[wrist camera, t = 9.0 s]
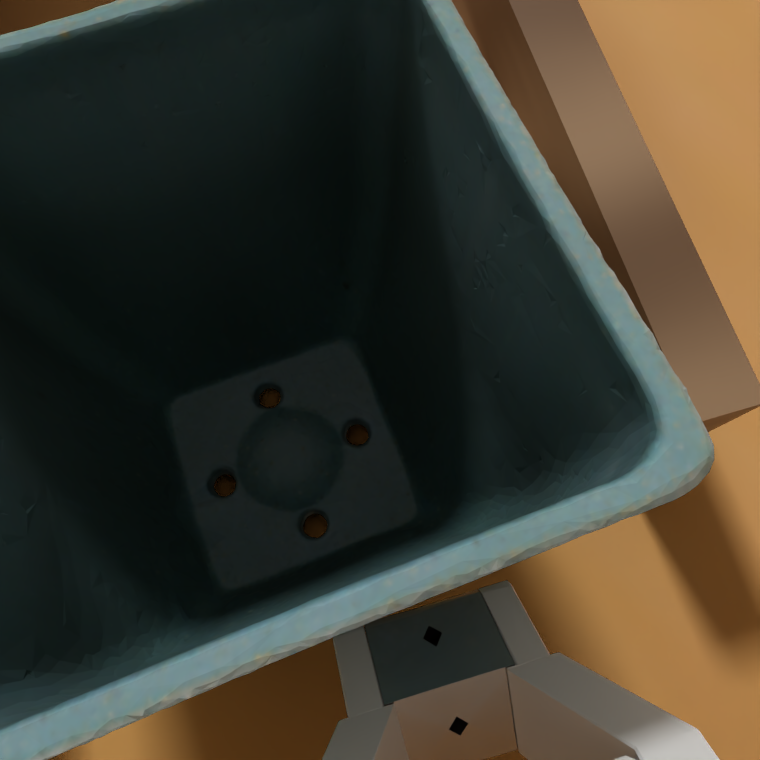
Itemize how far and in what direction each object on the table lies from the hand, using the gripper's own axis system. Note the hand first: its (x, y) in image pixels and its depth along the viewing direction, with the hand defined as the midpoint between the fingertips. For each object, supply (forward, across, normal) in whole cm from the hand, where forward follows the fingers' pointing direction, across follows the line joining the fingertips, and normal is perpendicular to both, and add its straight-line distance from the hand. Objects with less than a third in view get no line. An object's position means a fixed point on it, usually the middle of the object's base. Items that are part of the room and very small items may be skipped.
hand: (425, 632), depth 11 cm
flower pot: (+6, -2, 0) cm, 6 cm away
